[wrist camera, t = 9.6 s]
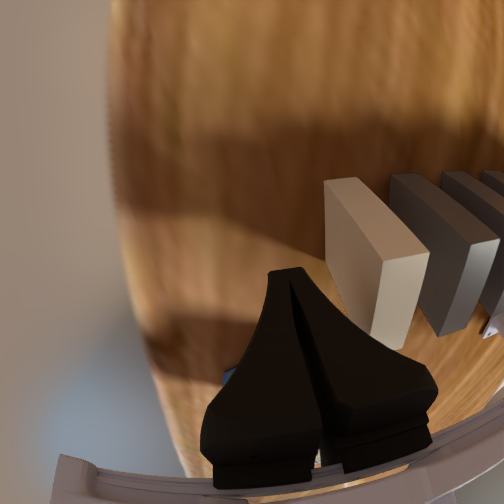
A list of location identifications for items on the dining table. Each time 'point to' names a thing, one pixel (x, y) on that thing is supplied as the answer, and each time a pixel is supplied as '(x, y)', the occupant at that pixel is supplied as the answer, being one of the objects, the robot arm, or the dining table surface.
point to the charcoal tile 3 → (494, 180)
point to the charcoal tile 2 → (494, 217)
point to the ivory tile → (372, 260)
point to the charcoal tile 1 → (445, 250)
